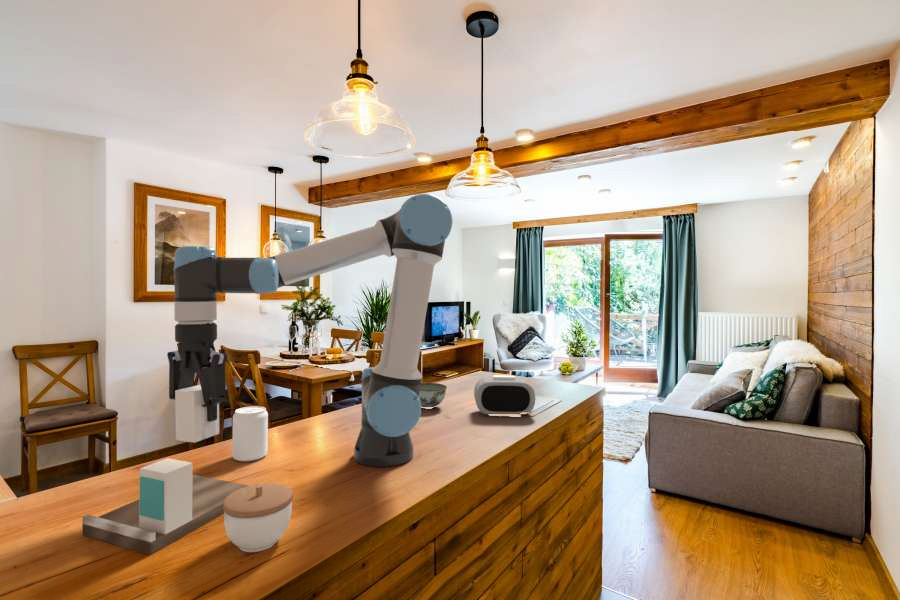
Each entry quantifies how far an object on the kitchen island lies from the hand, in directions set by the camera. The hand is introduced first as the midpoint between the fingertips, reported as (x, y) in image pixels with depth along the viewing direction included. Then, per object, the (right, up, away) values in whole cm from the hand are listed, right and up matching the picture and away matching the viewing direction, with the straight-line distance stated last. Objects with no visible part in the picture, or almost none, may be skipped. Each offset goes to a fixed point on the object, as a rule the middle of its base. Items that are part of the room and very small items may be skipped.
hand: (197, 434), depth 92 cm
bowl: (+44, -12, +73) cm, 86 cm away
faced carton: (+3, -10, -16) cm, 19 cm away
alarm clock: (+71, -13, +66) cm, 97 cm away
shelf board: (+1, -12, -8) cm, 15 cm away
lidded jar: (+20, -13, -17) cm, 29 cm away
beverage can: (+1, -12, +21) cm, 24 cm away
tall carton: (0, 0, 0) cm, 0 cm away
